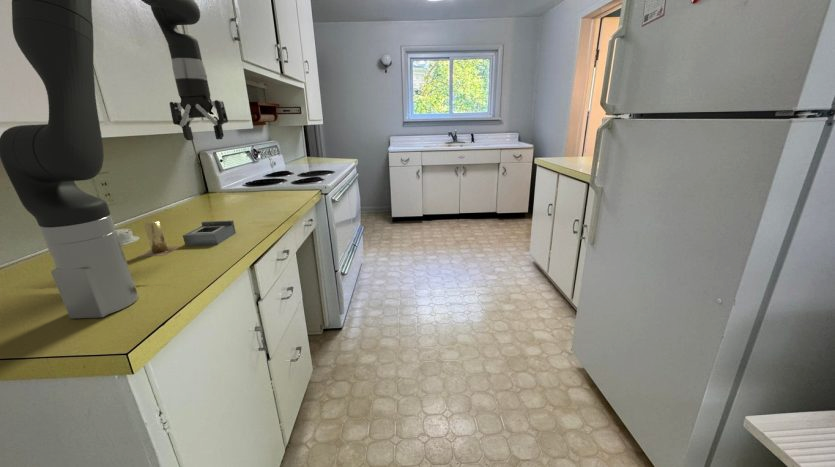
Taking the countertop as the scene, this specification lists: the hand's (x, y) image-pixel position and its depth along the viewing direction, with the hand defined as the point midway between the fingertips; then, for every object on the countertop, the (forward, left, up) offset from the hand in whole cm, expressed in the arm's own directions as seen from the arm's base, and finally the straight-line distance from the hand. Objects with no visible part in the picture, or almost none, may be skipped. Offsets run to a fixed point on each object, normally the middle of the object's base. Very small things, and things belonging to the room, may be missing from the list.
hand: (204, 139), depth 98 cm
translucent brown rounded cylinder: (-17, +9, -28) cm, 33 cm away
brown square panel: (-17, +9, -29) cm, 34 cm away
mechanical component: (-8, +28, -29) cm, 41 cm away
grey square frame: (-9, 0, -29) cm, 30 cm away
